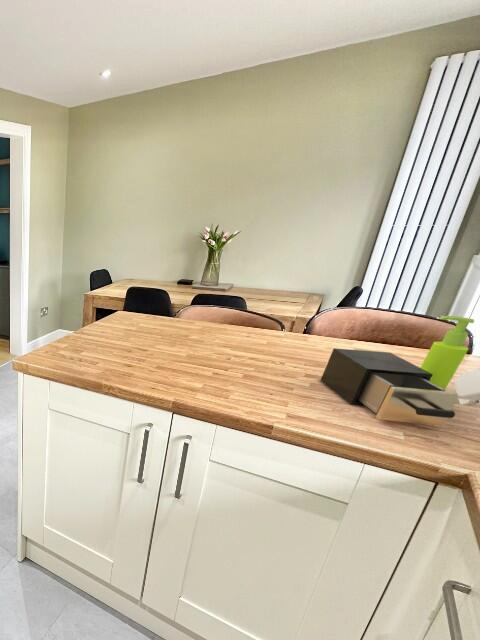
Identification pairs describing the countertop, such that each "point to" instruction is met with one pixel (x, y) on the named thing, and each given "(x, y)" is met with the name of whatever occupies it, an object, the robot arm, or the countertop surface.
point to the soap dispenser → (447, 353)
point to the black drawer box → (363, 370)
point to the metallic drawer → (407, 399)
